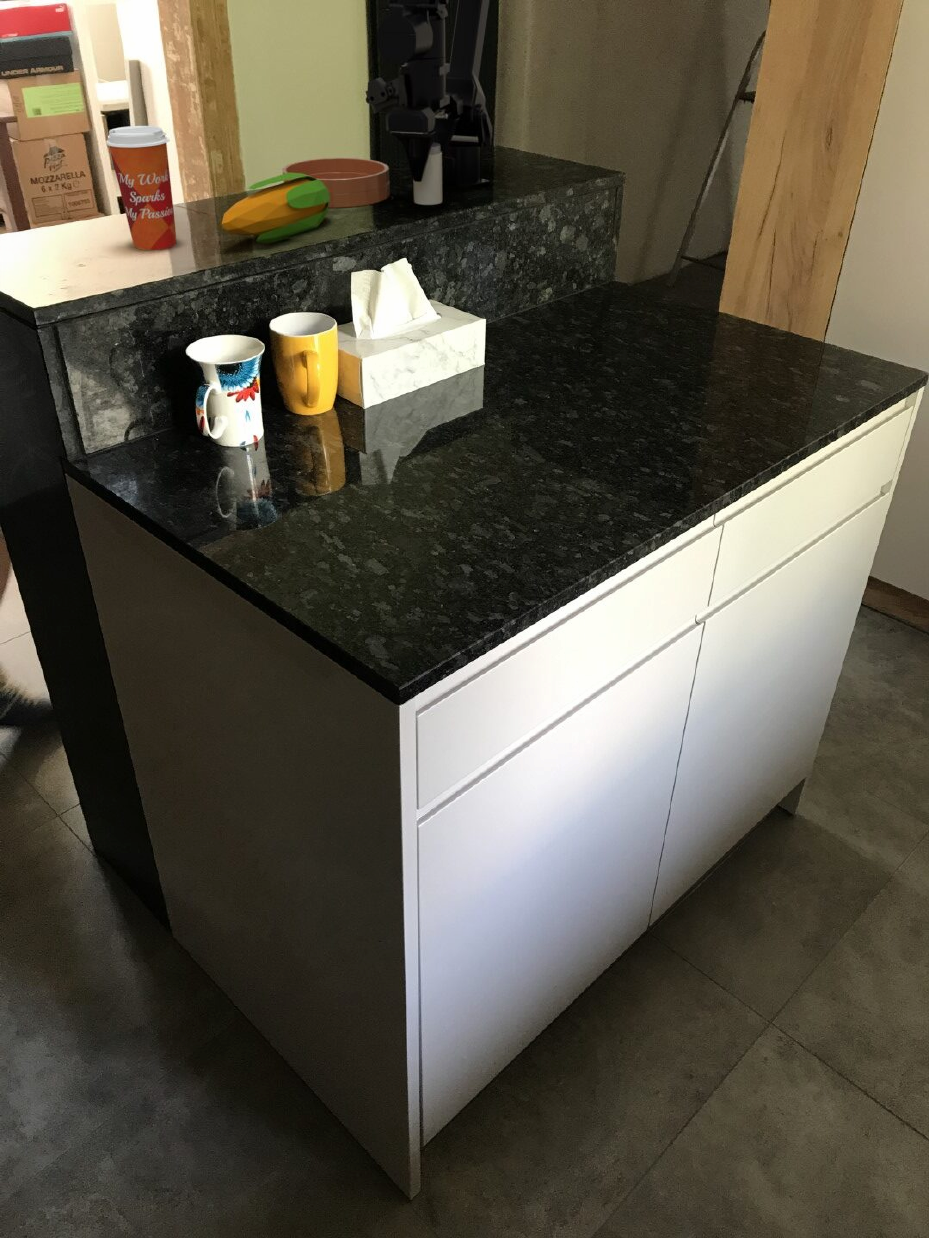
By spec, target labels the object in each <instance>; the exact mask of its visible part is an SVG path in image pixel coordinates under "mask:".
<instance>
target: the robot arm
mask: <svg viewBox="0 0 929 1238" xmlns="http://www.w3.org/2000/svg"><path fill="white" fill-rule="evenodd" d="M385 1H386V2H385V10H387V11H388V12H389V16H387V17H386V18H384V19H383V20H382V21H381V22H380V25H379V27H378V29H377V34H376V45H377V48H378V51H379V53H380V55H381V57H382V58H383V59H384V60H385V61H386V62H388V63H390V64H392V65H398V66H399V65H400V68H399V69H398V78H395V79H392V80H389V81H388V82H386V81H385V80H384V79H383V78H382V77H378V78H374V79H373V80H370V81H368V82H367V90H365V95H366V97H365V102H366V103H367V105H368V104H370V105H371V108H372V111H373V114H378V113H380V112H382V111H383V110H387V109H389V108H391V107H392V108H391V109H390V110H389V111H388V112H387V114H386V115H385V130H386V131H387V132H390V135H391V136H392V137H393V138H394V137H395V139H396V140H397V141H399V142H400V143H401V144H402V146H403V148H404V152H405V155H406V158H407V162H408V166H409V168H410V173H411V175H412V180H413V179H414V181H415V182H421V181H422V178H423V175H424V172H425V168H426V165H427V161H428V157H429V154H430V150H431V146H432V143H439V144H440V145H441V152H442V184H444V185H450V186H456V187H459V188H467V187H470V186H471V187H472V186H474V187H479V186H485V185H489V184H490V180H488V179H485V178H483V148H484V147H490V146H492V139H493V126H492V123H491V119H490V116H489V114H488V111H487V107H486V96H485V93H484V91H483V89H482V86H481V83H480V81H479V79H480V78H479V76H480V70H481V69H480V68H481V62H482V54H483V49H484V40H485V34H486V28H487V21H488V12H489V6H490V0H458V1H457V7H456V8H457V9H456V16H455V23H454V28H453V30H454V31H453V37H452V44H451V53H450V59H449V63H446V18H447V17H448V15H449V12H448V10H447V8H446V6H447V5H448V4H449V0H385ZM396 104H398V105H397V106H395V107H393V106H394V105H396Z"/></svg>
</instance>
